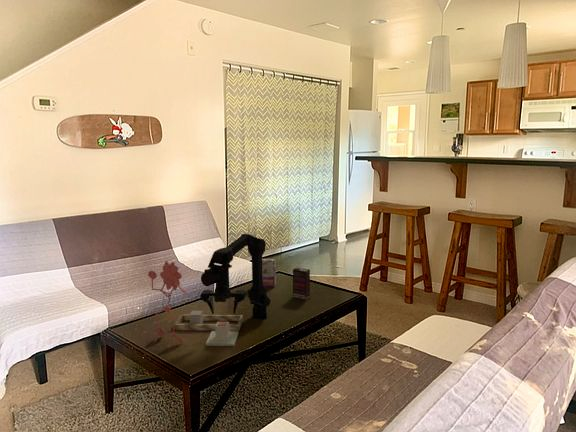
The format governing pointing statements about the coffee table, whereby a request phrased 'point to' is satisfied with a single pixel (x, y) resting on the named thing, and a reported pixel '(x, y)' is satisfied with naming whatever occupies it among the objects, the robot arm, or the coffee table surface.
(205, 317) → the bin
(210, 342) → the sage board
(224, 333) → the labelled block
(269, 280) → the candy bar box
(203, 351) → the coffee table surface
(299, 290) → the supplement box
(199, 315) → the grey block
